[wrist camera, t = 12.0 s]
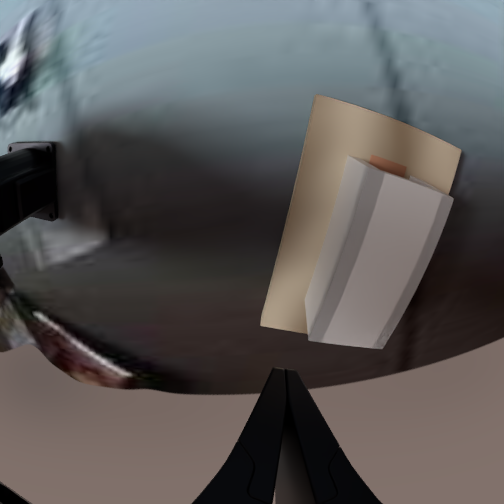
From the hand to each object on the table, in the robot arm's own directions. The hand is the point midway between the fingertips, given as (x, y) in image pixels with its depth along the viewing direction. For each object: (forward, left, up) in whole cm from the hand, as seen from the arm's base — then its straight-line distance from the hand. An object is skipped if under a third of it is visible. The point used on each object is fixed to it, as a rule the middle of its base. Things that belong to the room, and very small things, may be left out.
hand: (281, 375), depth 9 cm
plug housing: (+5, +2, -10) cm, 11 cm away
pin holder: (+5, +2, -11) cm, 12 cm away
